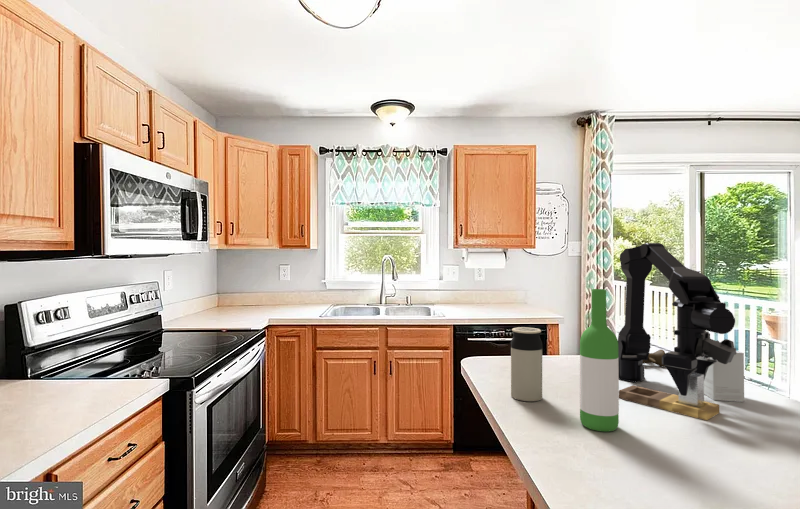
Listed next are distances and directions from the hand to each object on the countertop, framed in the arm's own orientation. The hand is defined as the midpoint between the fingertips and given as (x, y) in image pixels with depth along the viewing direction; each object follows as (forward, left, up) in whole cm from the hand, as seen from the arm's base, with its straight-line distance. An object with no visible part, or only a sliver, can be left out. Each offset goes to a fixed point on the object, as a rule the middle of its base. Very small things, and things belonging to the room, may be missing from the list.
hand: (691, 391), depth 106 cm
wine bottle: (-8, -27, -5) cm, 29 cm away
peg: (0, 0, -5) cm, 5 cm away
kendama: (-29, +42, -5) cm, 51 cm away
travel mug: (-30, -23, -5) cm, 39 cm away
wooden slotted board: (-5, 0, -5) cm, 7 cm away
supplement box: (+1, +19, -5) cm, 20 cm away
